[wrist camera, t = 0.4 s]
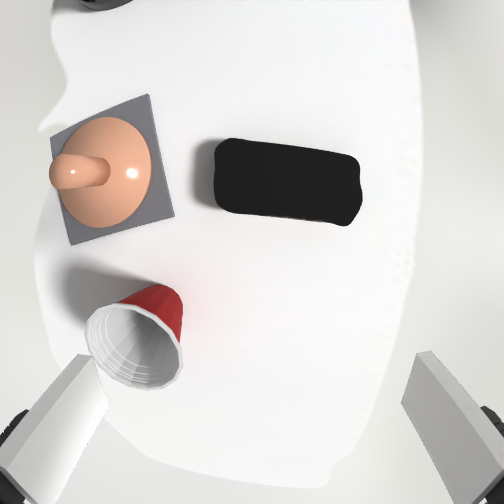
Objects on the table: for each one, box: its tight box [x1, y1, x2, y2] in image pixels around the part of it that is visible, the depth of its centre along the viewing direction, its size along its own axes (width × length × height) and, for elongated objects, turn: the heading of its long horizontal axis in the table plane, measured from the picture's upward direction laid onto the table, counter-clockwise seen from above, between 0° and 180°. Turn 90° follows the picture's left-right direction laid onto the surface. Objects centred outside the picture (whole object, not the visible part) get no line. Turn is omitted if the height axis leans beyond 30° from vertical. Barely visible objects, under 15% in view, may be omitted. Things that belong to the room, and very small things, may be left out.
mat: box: [50, 94, 175, 246], centre depth 33 cm, size 16×16×1 cm
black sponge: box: [214, 138, 363, 226], centre depth 32 cm, size 16×8×4 cm, turn 84°
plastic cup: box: [85, 285, 183, 390], centre depth 32 cm, size 11×11×12 cm
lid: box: [49, 117, 152, 228], centre depth 29 cm, size 14×14×9 cm
